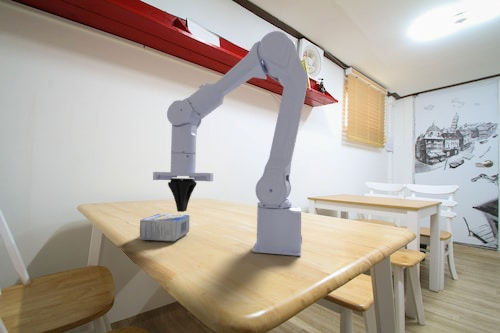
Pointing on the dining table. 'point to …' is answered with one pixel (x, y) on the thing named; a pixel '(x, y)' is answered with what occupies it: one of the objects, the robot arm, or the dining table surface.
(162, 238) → the medicine box
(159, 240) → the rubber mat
